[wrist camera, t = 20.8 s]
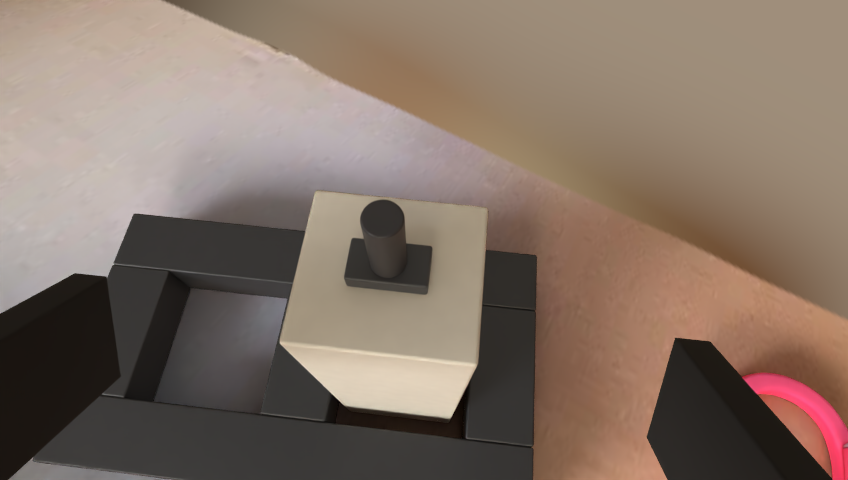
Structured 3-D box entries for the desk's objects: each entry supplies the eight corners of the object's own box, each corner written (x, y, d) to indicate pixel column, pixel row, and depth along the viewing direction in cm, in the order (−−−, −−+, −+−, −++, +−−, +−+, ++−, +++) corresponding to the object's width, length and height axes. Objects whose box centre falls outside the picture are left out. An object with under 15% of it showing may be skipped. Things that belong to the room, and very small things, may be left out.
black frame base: (157, 234, 24) (133, 212, 22) (527, 273, 24) (537, 254, 22) (69, 463, 20) (30, 461, 18) (521, 521, 19) (532, 525, 17)
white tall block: (449, 423, 21) (494, 335, 8) (348, 411, 21) (238, 306, 8) (457, 333, 22) (504, 142, 10) (363, 322, 22) (290, 121, 10)
